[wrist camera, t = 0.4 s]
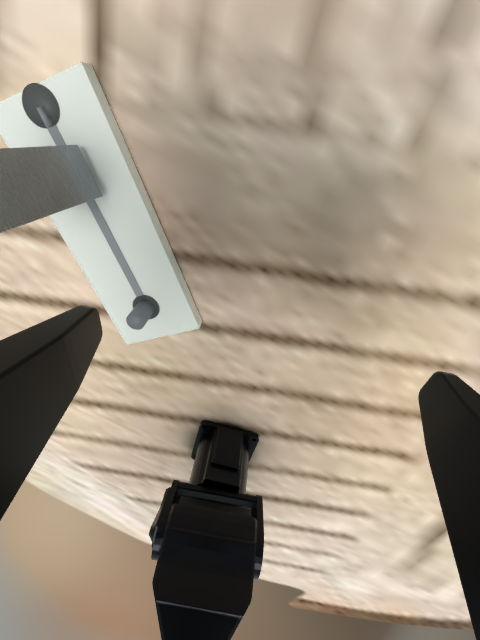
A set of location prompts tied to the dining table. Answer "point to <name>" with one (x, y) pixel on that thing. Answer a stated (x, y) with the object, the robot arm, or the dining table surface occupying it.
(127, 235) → the bolt plate
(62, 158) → the gray metal block
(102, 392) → the dining table surface
